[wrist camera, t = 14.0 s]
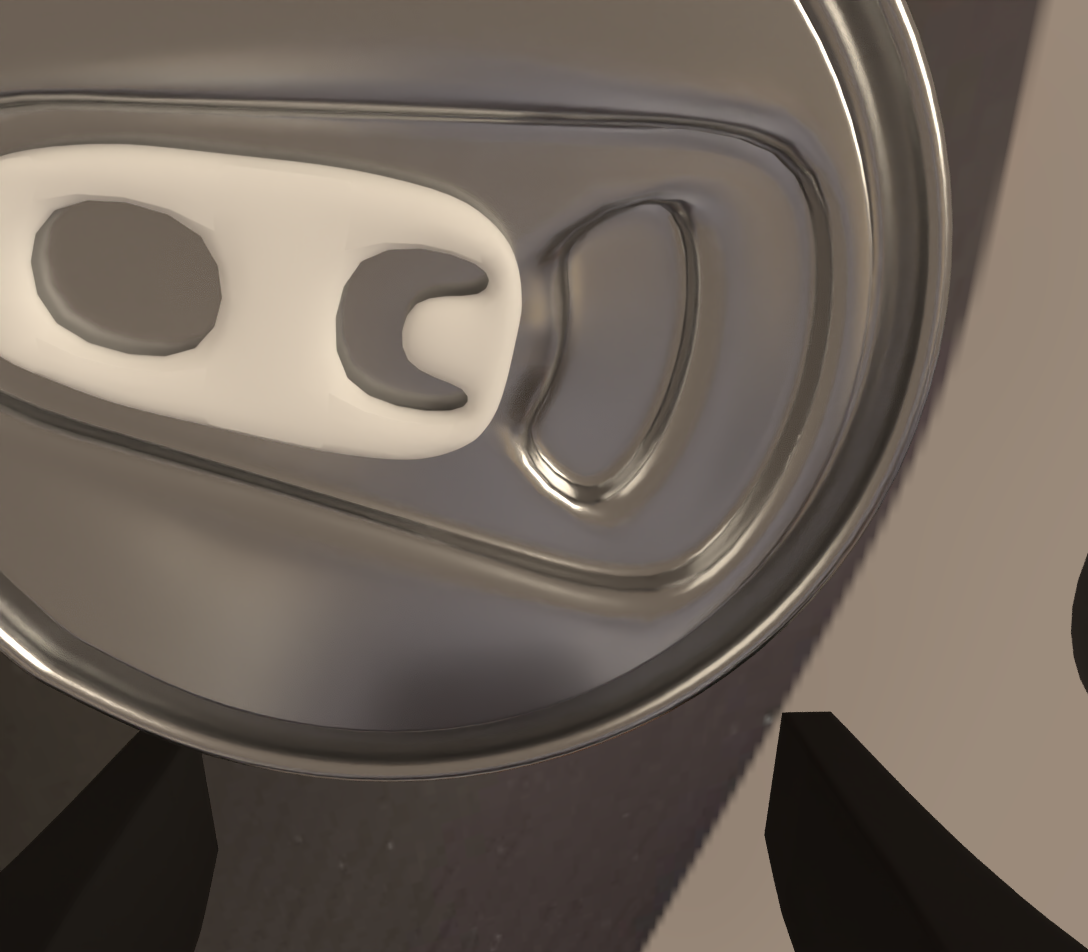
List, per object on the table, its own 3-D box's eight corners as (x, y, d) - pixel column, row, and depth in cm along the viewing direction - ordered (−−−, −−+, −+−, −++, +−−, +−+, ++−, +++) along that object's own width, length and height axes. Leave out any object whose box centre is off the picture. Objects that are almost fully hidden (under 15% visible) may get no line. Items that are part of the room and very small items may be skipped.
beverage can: (592, 282, 16) (791, 874, 6) (265, 221, 16) (-238, 756, 5) (673, -77, 14) (1272, -265, 3) (297, -166, 13) (-490, -769, 3)
